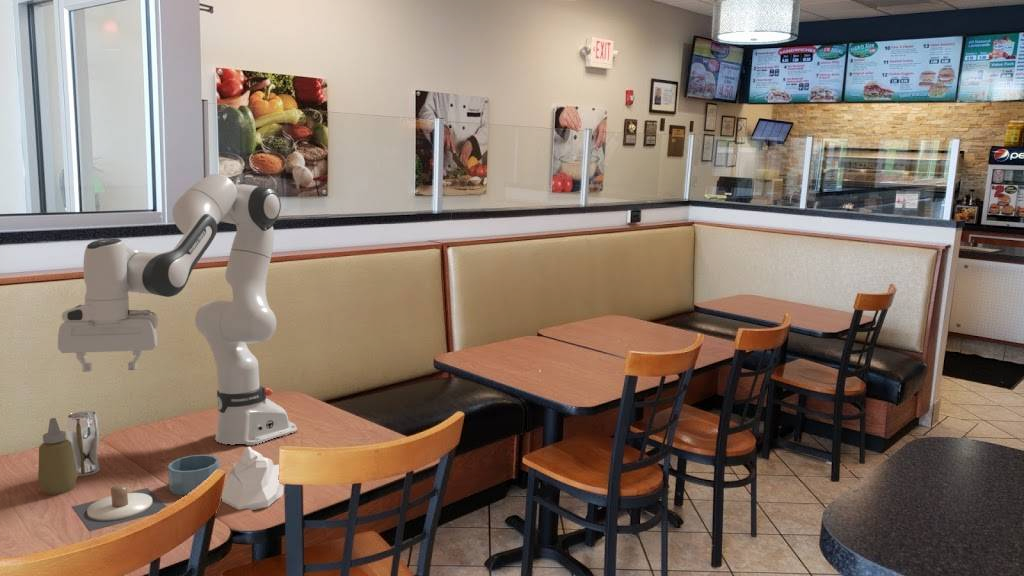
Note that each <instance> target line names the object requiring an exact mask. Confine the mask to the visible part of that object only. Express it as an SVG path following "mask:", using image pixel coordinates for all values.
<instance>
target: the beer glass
mask: <svg viewBox="0 0 1024 576" xmlns="http://www.w3.org/2000/svg"><path fill="white" fill-rule="evenodd" d="M99 436H100V426H99V421H98V414H97V411H95V410H82V411H81V410H80V411H76V412H72V413H69V414H67V416H66V437H67V440H69V441H70V442H71V445H72V450H73V454H74V459H75V464H76V469H77V474H78V475H77V477H87V476H92V475H95V474H97V473H98V472H99V471H101V467H100V464H99V458H98V449H99V448H98V447H99V441H100V439H99V438H100V437H99Z"/></svg>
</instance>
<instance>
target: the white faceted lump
mask: <svg viewBox="0 0 1024 576" xmlns="http://www.w3.org/2000/svg"><path fill="white" fill-rule="evenodd" d="M278 475H279V464H274V461H273V460H272V459H271V458H268V457H264V456H263V455H262V454H261V453H260V452H258V451H256V450H253V449H252V447H251V446H247V447H245V448H244V451H243V453H242V454H241V457H240V459H239V460H238V461H236V462H235V463H234V464H233V469H232V470H231V471H230V475H229V476H228V477H227V480H226V483H225V485H224V487H223V491H222V493H223V494H222V493H221V495H222V501H221V502H222V503H225V504H227V505H229V506H231V507H233V508H234V509H237V510H238V511H240V510H241V511H242V510H246V509H248V510H250V511H256V510H260V509H265V508H269V507H270V506H271V505H273V503H275V502H276V501H277V500H278V499H279V498H280V497H283V495H284V488H285V485H284V486H283V485H282V484H280V483H279V480H278Z"/></svg>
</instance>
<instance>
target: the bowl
mask: <svg viewBox="0 0 1024 576" xmlns="http://www.w3.org/2000/svg"><path fill="white" fill-rule="evenodd" d="M216 469H220V459H219V458H218V457H217V456H215V455H209V454H195V455H194V454H193V455H188V456H183V457H179V458H177V459H175V460H173V461H171V462H170V463H169V464H168V466H167V472H168V473H167V479H168V491H170V492H171V493H172V494H174V495H178V496H187V495H186V494H188V493H189V492H191V491H192V490H193V489H195V488H196V487H197V486H198V485H200V484H201V483H202V482H203V481H204V480H206V479H207V478H208V477H209V476H210V475H211V474H212V473H213V472H214V471H215V470H216ZM220 470H221V469H220Z"/></svg>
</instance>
